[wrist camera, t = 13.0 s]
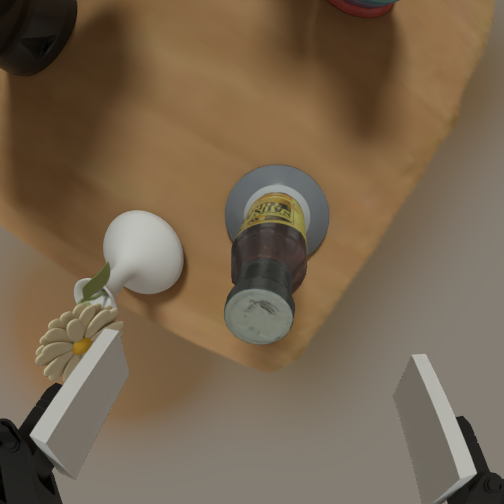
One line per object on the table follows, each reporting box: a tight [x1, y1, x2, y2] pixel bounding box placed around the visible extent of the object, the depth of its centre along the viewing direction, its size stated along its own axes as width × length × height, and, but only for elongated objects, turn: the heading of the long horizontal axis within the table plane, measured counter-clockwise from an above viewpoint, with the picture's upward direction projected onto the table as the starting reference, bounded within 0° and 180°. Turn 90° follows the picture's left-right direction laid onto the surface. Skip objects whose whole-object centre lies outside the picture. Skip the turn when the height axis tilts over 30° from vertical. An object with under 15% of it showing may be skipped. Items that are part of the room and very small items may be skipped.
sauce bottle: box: [224, 192, 308, 345], centre depth 26 cm, size 6×6×20 cm
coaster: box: [225, 165, 329, 256], centre depth 36 cm, size 12×12×1 cm
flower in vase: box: [35, 210, 184, 383], centre depth 28 cm, size 13×11×25 cm
